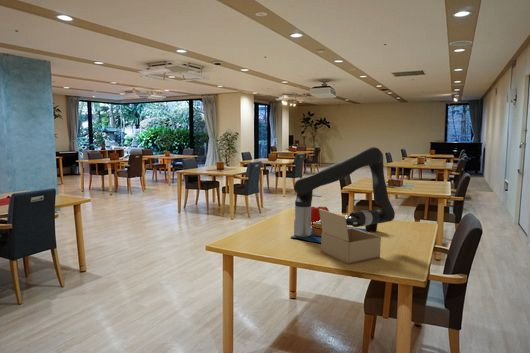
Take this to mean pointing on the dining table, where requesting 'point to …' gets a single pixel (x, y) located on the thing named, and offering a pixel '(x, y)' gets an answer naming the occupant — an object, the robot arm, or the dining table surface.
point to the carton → (352, 246)
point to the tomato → (316, 213)
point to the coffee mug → (371, 227)
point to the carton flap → (334, 224)
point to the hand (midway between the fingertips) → (333, 222)
